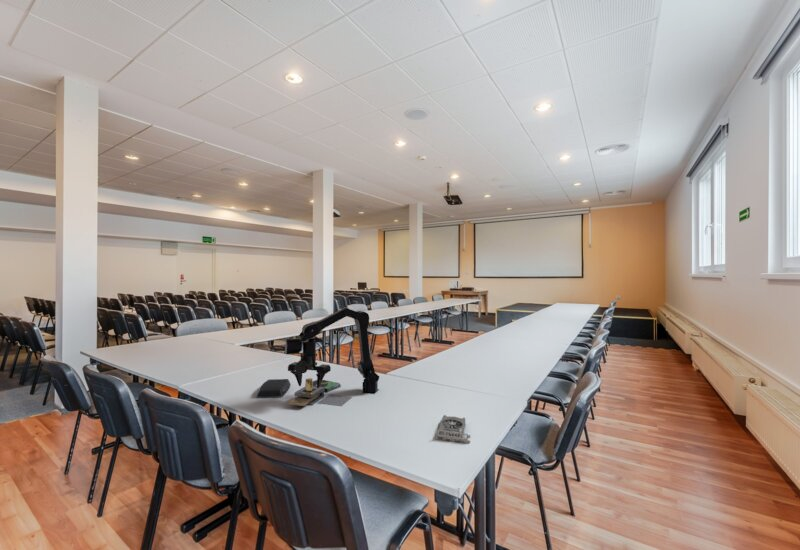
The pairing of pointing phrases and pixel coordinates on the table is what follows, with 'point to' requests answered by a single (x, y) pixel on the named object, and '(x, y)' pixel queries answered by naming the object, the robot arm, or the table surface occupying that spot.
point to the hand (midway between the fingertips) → (309, 387)
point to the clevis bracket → (308, 396)
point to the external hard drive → (273, 388)
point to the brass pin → (309, 384)
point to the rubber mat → (335, 400)
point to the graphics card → (452, 430)
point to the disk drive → (327, 385)
